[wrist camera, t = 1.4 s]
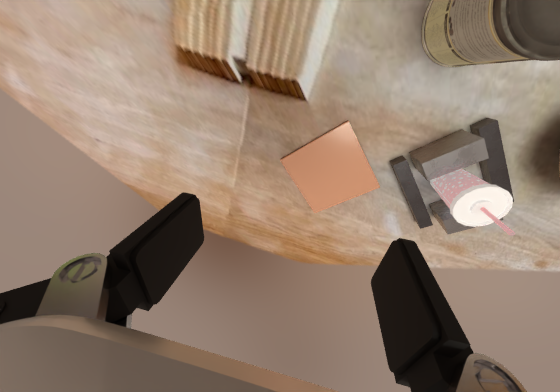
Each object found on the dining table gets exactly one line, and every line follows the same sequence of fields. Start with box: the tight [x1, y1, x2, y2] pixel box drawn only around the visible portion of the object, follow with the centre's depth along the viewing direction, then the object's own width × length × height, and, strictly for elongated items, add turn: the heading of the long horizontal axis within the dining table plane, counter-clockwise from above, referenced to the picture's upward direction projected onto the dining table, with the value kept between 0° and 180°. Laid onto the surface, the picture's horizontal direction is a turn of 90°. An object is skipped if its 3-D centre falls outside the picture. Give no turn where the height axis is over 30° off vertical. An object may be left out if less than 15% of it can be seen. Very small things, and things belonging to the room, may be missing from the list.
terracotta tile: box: [280, 121, 380, 213], centre depth 36 cm, size 13×13×1 cm
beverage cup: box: [430, 168, 515, 236], centre depth 27 cm, size 6×6×14 cm
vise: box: [390, 118, 514, 234], centre depth 31 cm, size 13×14×5 cm
